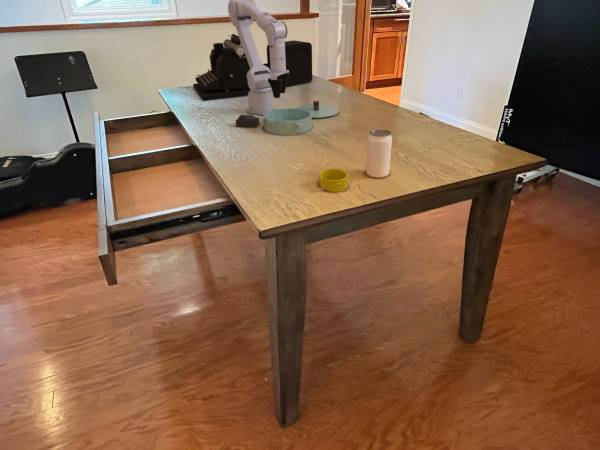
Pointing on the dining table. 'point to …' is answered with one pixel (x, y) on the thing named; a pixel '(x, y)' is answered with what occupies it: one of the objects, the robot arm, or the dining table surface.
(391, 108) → the dining table surface
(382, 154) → the can
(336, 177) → the bracelet
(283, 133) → the pot
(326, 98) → the dining table surface
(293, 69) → the air purifier
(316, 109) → the lid
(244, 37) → the robot arm
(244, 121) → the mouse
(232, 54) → the typewriter
